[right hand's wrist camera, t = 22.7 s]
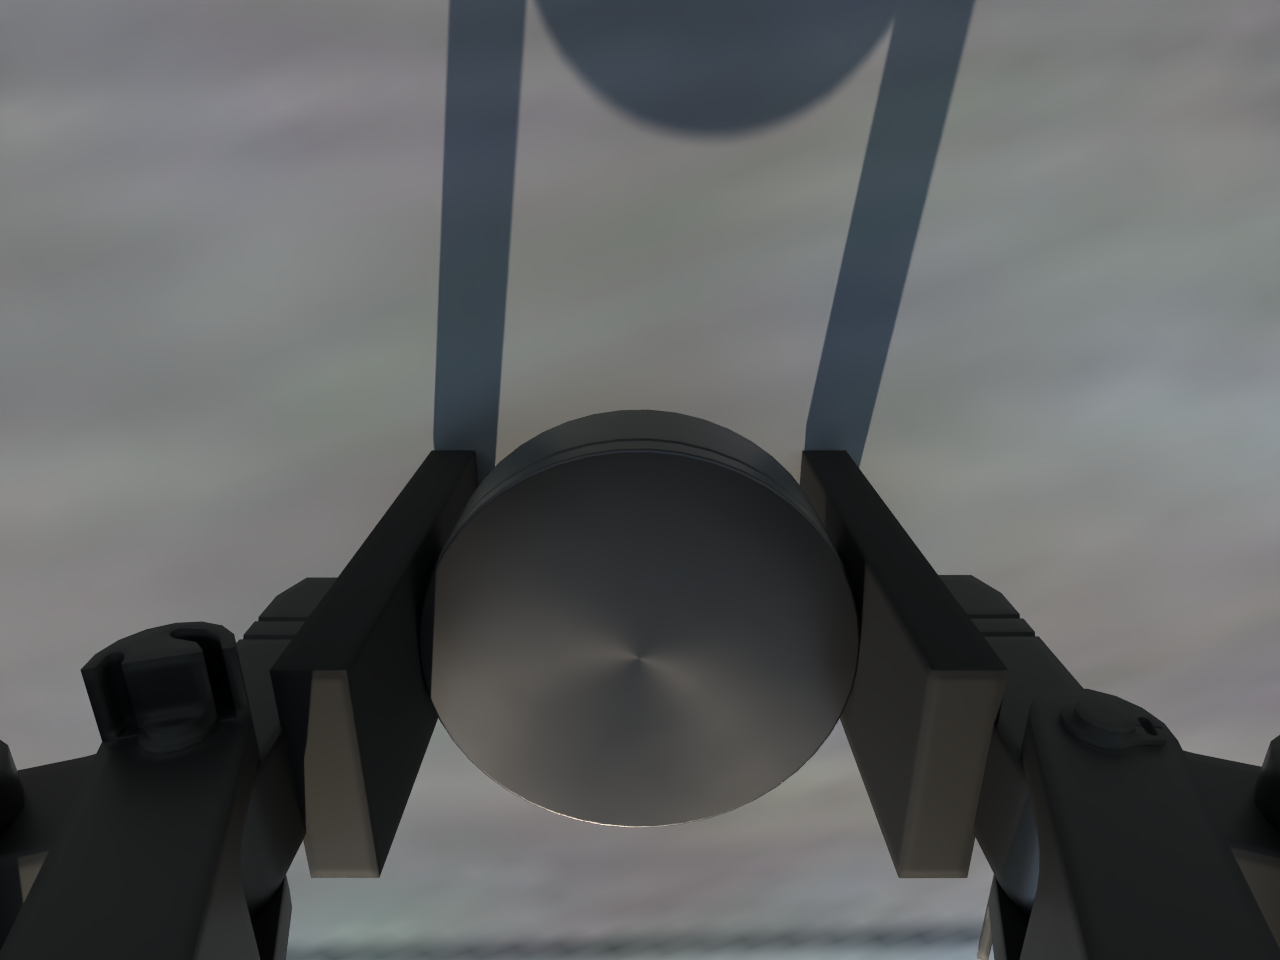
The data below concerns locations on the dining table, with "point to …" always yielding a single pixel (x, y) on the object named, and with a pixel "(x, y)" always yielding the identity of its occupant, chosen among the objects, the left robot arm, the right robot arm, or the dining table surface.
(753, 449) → the lid
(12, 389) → the dining table surface
